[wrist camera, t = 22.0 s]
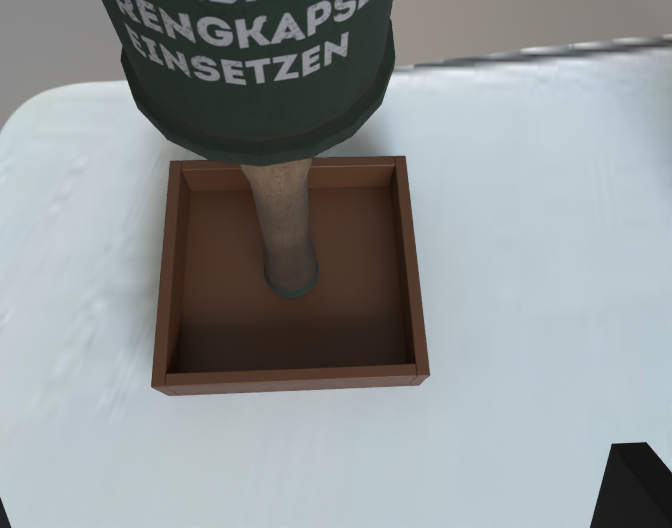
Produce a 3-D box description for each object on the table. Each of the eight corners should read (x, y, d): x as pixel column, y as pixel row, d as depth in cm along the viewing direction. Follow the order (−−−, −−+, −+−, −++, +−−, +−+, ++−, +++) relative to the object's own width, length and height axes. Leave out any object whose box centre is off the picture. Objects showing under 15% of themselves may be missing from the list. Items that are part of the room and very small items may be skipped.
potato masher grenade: (212, 315, 35) (-195, -273, 7) (257, 208, 38) (93, -490, 10) (331, 353, 34) (384, -137, 7) (367, 241, 38) (507, -415, 10)
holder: (397, 182, 40) (405, 155, 37) (418, 385, 35) (430, 375, 31) (182, 187, 40) (169, 160, 36) (168, 395, 34) (150, 387, 30)
